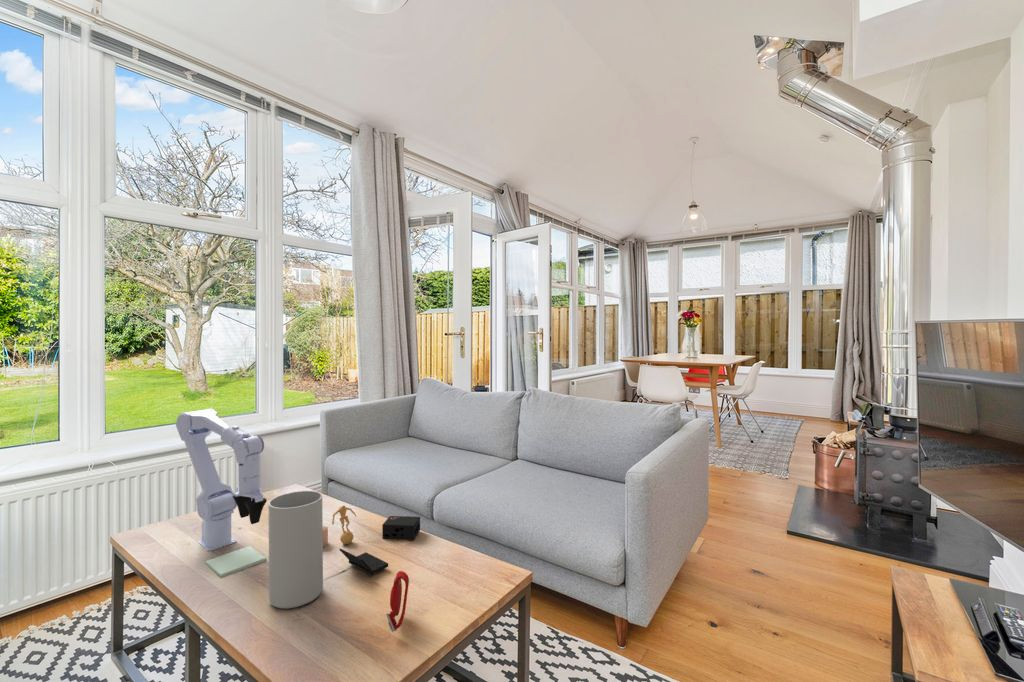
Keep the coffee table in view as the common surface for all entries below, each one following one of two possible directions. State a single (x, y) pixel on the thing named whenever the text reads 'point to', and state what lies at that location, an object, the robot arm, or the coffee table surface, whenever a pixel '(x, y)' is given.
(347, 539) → the figurine
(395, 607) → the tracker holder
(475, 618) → the coffee table surface
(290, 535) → the cylinder vase
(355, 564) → the black angular piece
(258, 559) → the sage board
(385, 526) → the electronic device
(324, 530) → the pink rounded capsule
